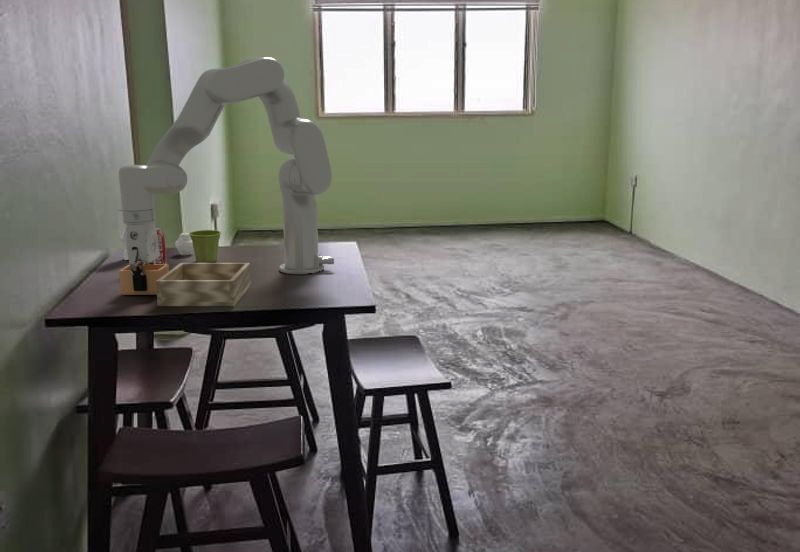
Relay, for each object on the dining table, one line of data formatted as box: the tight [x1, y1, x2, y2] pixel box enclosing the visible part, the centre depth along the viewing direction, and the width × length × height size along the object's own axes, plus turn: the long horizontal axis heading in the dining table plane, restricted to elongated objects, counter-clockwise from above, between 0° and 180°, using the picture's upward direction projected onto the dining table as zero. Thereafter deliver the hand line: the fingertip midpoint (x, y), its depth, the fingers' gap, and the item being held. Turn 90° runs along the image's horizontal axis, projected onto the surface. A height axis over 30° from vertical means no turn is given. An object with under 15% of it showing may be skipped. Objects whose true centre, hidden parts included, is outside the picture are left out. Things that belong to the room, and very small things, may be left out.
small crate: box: [118, 263, 170, 296], centre depth 186 cm, size 10×7×6 cm
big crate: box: [156, 262, 252, 307], centre depth 184 cm, size 18×20×6 cm
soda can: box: [139, 226, 167, 264], centre depth 211 cm, size 7×7×12 cm
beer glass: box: [117, 208, 128, 261], centre depth 225 cm, size 7×7×15 cm
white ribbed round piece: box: [174, 232, 194, 256], centre depth 233 cm, size 6×6×7 cm
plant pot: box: [188, 229, 222, 263], centre depth 223 cm, size 9×9×9 cm
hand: (145, 286), depth 187 cm, fingers closed on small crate, 7 cm apart
